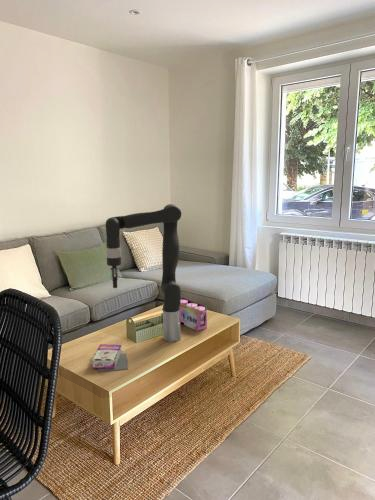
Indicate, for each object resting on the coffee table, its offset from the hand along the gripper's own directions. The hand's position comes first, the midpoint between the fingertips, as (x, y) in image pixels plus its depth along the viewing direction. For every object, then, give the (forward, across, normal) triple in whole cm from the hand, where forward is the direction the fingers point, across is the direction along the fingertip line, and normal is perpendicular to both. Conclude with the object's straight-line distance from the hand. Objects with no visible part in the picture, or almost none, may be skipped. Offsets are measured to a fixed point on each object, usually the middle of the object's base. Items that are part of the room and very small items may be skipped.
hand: (115, 287), depth 207 cm
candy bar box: (+29, -12, +4) cm, 32 cm away
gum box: (+32, +18, -45) cm, 58 cm away
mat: (+32, -22, +3) cm, 39 cm away
